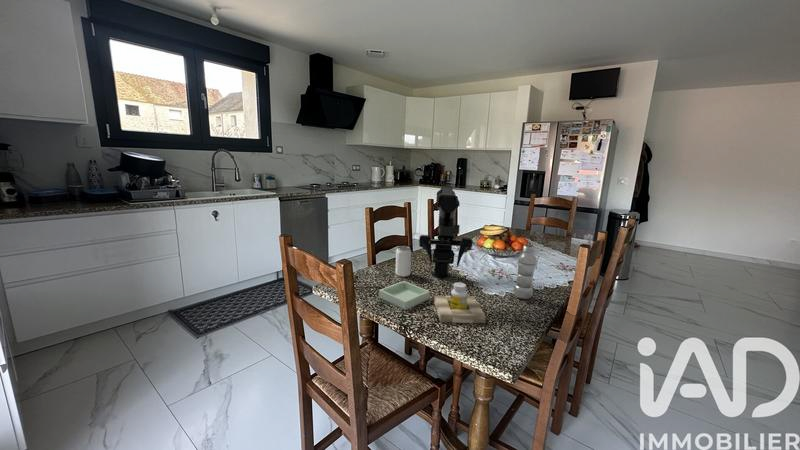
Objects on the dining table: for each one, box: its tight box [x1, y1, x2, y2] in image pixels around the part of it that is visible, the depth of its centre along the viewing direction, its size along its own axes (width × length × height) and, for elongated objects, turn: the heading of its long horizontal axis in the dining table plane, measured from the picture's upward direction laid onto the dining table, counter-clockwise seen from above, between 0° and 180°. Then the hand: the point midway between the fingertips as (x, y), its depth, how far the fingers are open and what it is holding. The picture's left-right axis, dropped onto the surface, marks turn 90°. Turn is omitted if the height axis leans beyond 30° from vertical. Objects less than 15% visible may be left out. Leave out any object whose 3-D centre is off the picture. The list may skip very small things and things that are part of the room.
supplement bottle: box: [450, 281, 469, 310], centre depth 104 cm, size 5×5×10 cm
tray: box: [378, 280, 431, 311], centre depth 113 cm, size 13×13×3 cm
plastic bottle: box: [513, 244, 538, 300], centre depth 115 cm, size 6×7×20 cm
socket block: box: [433, 295, 486, 324], centre depth 104 cm, size 14×14×2 cm
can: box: [395, 245, 412, 278], centre depth 135 cm, size 6×6×12 cm
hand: (444, 265), depth 110 cm, fingers open, 9 cm apart
